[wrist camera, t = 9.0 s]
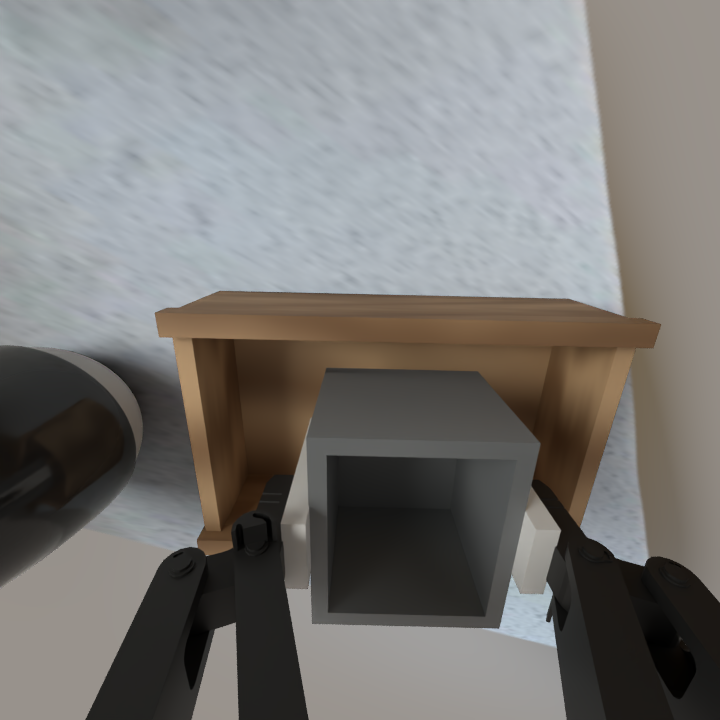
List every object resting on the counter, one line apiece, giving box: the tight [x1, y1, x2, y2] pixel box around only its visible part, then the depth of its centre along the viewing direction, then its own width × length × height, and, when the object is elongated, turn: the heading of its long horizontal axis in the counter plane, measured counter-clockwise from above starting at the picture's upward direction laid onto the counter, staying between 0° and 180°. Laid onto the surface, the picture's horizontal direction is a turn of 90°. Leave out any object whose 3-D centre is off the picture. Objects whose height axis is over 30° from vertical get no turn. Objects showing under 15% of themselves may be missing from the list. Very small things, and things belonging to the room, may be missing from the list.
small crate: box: [306, 368, 541, 628], centre depth 14 cm, size 8×7×6 cm
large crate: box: [155, 291, 661, 555], centre depth 19 cm, size 13×20×6 cm, turn 89°
